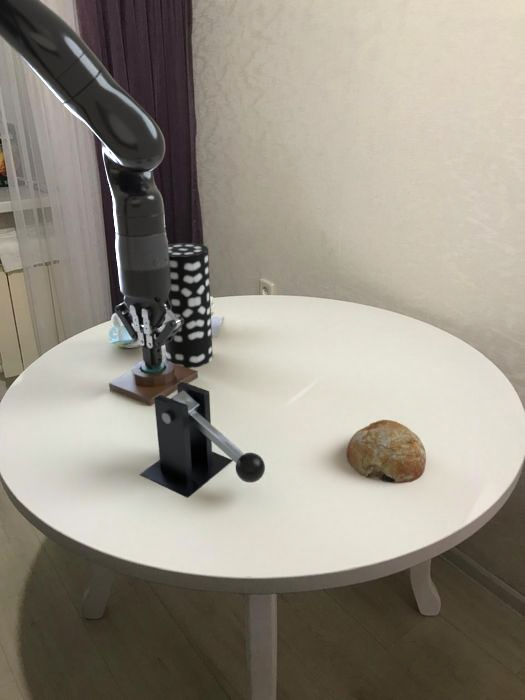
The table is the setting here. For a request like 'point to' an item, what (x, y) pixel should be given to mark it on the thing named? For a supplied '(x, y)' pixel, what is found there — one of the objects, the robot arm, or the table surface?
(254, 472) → the lever
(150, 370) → the button
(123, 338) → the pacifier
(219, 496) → the table surface
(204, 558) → the table surface
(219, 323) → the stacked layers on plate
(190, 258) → the white-spotted black cylinder
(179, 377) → the button block
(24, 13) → the robot arm
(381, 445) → the bread roll
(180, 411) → the bracket
